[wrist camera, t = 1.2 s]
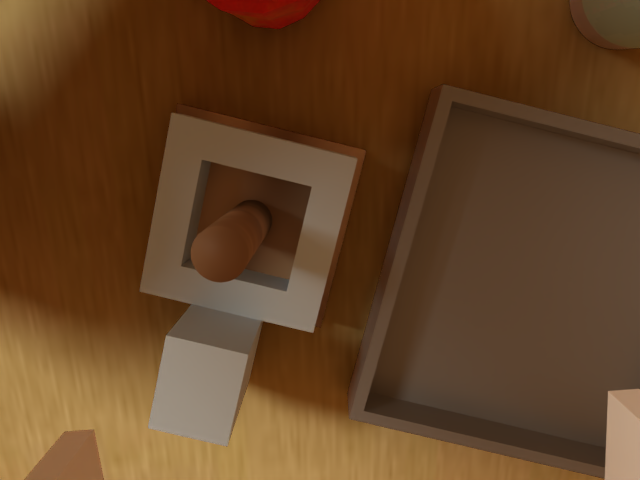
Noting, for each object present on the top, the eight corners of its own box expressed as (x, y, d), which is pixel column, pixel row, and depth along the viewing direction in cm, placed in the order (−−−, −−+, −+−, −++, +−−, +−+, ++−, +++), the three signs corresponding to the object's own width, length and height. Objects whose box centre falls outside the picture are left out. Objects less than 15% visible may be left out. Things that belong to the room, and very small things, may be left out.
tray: (347, 392, 33) (349, 418, 30) (431, 89, 29) (443, 84, 26) (634, 460, 34) (664, 492, 31) (754, 171, 30) (802, 175, 27)
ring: (139, 354, 32) (87, 414, 25) (184, 114, 29) (139, 107, 22) (295, 391, 32) (286, 460, 26) (355, 157, 29) (363, 163, 23)
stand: (148, 282, 32) (70, 344, 22) (181, 104, 30) (110, 89, 20) (320, 323, 32) (316, 402, 23) (365, 150, 30) (381, 156, 21)
